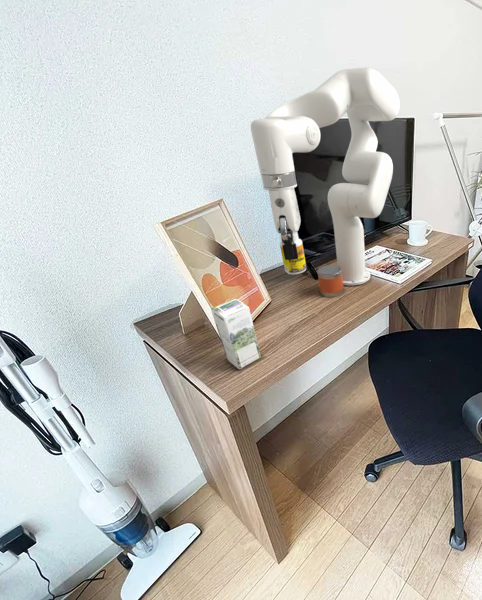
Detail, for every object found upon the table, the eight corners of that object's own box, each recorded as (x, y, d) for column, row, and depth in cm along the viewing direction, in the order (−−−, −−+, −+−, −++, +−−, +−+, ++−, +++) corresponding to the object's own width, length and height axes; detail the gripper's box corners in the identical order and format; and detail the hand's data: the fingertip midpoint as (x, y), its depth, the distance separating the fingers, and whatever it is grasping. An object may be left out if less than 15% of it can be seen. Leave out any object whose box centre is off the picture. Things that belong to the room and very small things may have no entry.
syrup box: (249, 348, 80) (234, 297, 73) (262, 358, 77) (248, 305, 69) (227, 360, 76) (209, 307, 69) (239, 371, 73) (222, 316, 66)
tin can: (320, 287, 108) (317, 265, 104) (343, 285, 109) (341, 264, 105) (319, 298, 102) (316, 275, 98) (343, 296, 102) (341, 273, 98)
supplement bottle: (289, 277, 83) (281, 239, 77) (282, 269, 87) (274, 233, 81) (310, 271, 85) (304, 234, 80) (302, 264, 89) (295, 228, 84)
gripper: (291, 187, 67) (305, 267, 76) (299, 173, 82) (310, 241, 91) (254, 189, 66) (272, 269, 76) (268, 174, 81) (282, 243, 90)
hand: (293, 253), depth 83 cm, fingers closed on supplement bottle, 5 cm apart
